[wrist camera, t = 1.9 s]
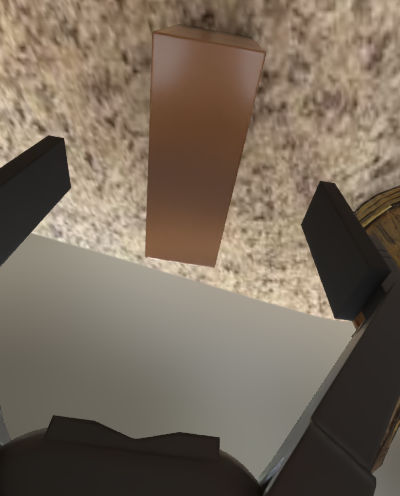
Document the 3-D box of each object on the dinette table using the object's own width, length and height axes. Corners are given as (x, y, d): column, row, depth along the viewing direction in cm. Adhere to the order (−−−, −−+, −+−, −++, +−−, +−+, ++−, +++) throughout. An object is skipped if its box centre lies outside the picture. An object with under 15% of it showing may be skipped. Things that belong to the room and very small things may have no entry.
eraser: (178, 23, 18) (152, 30, 12) (252, 37, 18) (266, 51, 12) (164, 197, 25) (144, 257, 19) (217, 205, 25) (214, 268, 19)
